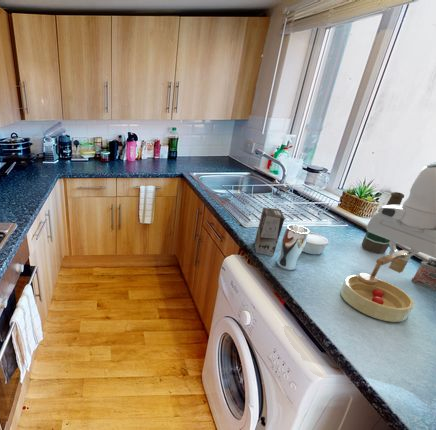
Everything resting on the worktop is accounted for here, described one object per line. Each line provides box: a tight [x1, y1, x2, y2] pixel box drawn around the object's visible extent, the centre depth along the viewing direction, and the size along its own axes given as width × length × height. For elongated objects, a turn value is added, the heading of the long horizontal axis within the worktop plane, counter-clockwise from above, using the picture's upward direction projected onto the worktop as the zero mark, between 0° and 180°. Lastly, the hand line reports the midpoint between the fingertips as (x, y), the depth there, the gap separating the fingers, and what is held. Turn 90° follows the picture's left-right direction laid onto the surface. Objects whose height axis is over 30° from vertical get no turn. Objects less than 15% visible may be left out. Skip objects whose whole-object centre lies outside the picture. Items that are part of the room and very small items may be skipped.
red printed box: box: [410, 257, 436, 291], centre depth 93 cm, size 8×3×10 cm, turn 47°
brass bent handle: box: [358, 249, 410, 286], centre depth 87 cm, size 19×4×7 cm, turn 113°
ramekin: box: [302, 231, 330, 255], centre depth 114 cm, size 11×11×5 cm
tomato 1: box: [372, 289, 384, 298], centre depth 88 cm, size 3×3×3 cm
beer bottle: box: [361, 191, 405, 254], centre depth 111 cm, size 8×8×24 cm
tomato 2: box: [372, 297, 384, 305], centre depth 84 cm, size 3×3×3 cm
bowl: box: [340, 274, 415, 323], centre depth 85 cm, size 15×15×5 cm
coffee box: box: [254, 207, 286, 257], centre depth 110 cm, size 9×6×16 cm
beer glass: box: [276, 224, 310, 271], centre depth 101 cm, size 7×7×15 cm
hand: (398, 257), depth 89 cm, fingers closed on brass bent handle, 2 cm apart
